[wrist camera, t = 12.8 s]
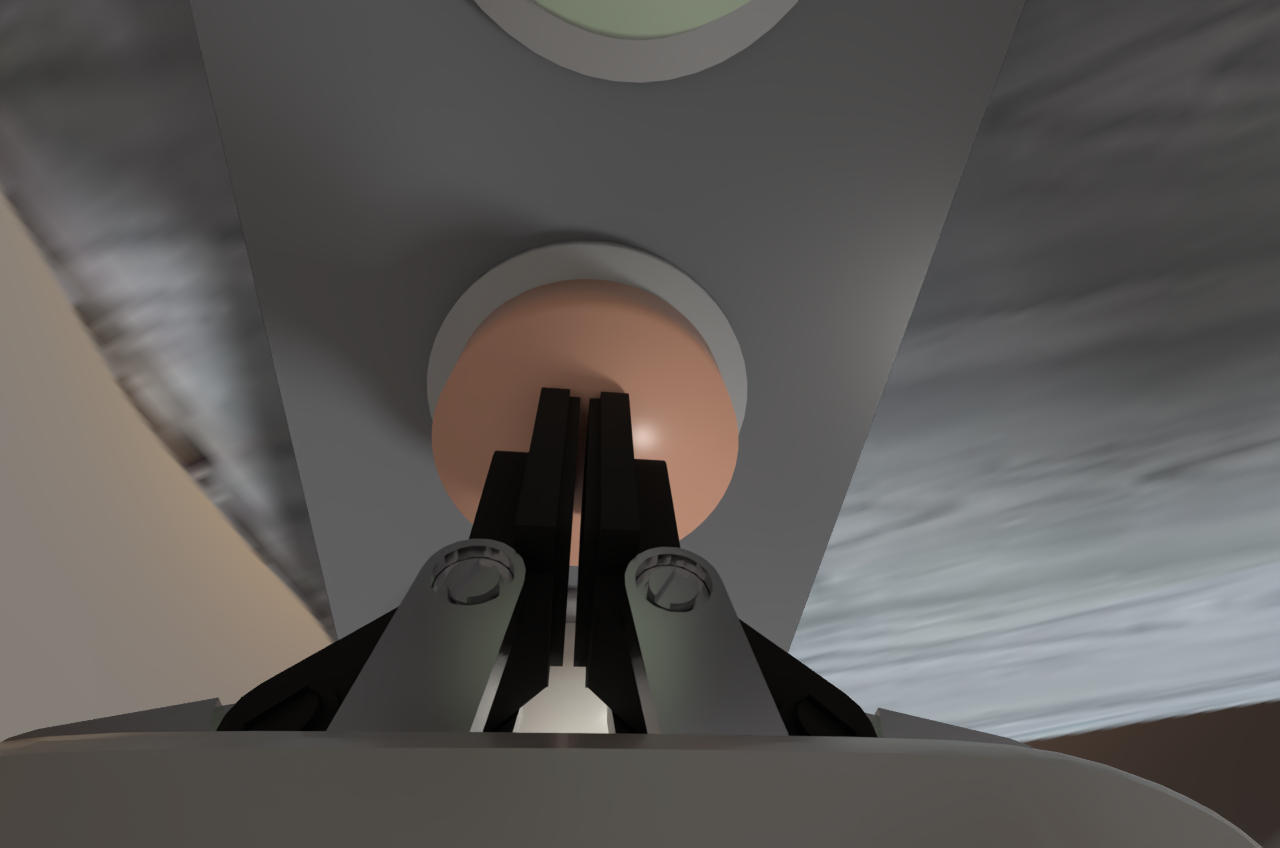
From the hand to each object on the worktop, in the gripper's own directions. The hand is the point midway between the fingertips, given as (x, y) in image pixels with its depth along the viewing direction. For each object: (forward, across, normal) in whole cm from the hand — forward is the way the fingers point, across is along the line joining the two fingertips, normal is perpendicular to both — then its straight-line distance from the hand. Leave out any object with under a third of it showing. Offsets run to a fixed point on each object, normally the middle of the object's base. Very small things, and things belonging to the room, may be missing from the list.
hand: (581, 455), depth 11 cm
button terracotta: (+3, 0, 0) cm, 3 cm away
